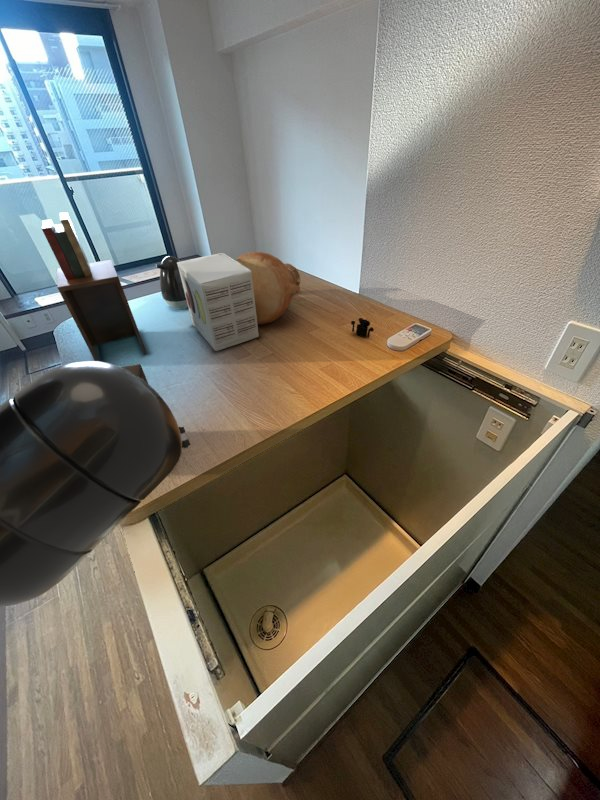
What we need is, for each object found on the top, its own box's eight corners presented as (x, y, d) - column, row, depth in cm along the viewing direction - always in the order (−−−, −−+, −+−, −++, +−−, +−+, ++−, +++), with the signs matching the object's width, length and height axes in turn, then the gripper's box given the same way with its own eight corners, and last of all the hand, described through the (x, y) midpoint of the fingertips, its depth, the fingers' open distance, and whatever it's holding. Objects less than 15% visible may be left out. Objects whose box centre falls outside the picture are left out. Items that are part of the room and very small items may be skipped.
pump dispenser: (158, 308, 104) (142, 259, 94) (182, 296, 111) (169, 249, 101) (181, 315, 100) (168, 264, 90) (204, 302, 107) (194, 254, 97)
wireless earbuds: (348, 332, 91) (350, 316, 87) (353, 329, 92) (355, 312, 89) (370, 341, 87) (373, 324, 84) (375, 337, 89) (378, 320, 85)
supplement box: (191, 325, 95) (174, 261, 83) (233, 313, 100) (223, 251, 88) (215, 352, 84) (199, 283, 72) (260, 337, 89) (253, 270, 77)
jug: (199, 285, 87) (246, 262, 111) (242, 343, 93) (278, 310, 117) (251, 240, 77) (290, 225, 100) (296, 309, 83) (323, 280, 106)
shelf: (98, 367, 80) (26, 228, 59) (93, 343, 88) (29, 214, 68) (147, 353, 84) (96, 219, 64) (138, 332, 92) (91, 208, 72)
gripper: (179, 396, 32) (179, 412, 48) (22, 448, 27) (81, 447, 44) (207, 466, 32) (198, 459, 48) (54, 531, 27) (101, 499, 44)
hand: (142, 454), depth 46 cm, fingers closed
